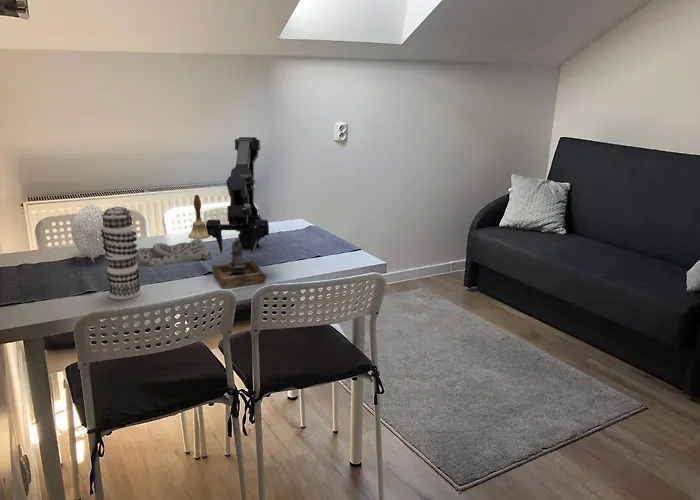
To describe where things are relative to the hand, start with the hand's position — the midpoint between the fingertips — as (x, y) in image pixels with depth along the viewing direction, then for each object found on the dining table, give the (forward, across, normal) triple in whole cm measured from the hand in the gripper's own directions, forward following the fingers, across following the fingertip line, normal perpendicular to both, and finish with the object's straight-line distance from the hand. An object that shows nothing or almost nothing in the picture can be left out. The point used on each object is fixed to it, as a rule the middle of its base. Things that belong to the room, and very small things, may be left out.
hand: (236, 252), depth 182 cm
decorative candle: (+14, -31, -1) cm, 34 cm away
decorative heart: (-9, -51, +22) cm, 56 cm away
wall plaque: (-11, -25, +25) cm, 37 cm away
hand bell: (-28, -20, +41) cm, 53 cm away
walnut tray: (+6, 0, +7) cm, 9 cm away
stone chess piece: (+5, 0, +7) cm, 8 cm away
